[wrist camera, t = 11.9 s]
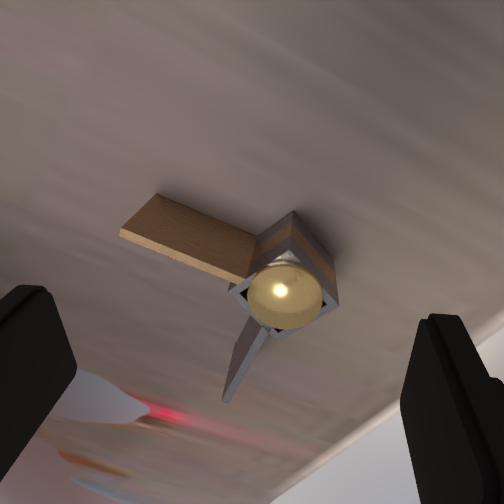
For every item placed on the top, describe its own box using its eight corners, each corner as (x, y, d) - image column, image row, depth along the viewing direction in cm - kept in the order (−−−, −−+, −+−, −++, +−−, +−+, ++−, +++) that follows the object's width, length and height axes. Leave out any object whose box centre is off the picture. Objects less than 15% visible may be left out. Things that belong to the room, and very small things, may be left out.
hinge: (225, 130, 33) (203, 152, 26) (353, 282, 39) (363, 334, 32) (114, 232, 40) (72, 271, 33) (238, 350, 45) (225, 405, 38)
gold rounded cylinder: (292, 210, 36) (289, 253, 28) (331, 254, 37) (338, 306, 30) (246, 246, 38) (231, 294, 31) (284, 285, 40) (280, 340, 32)
